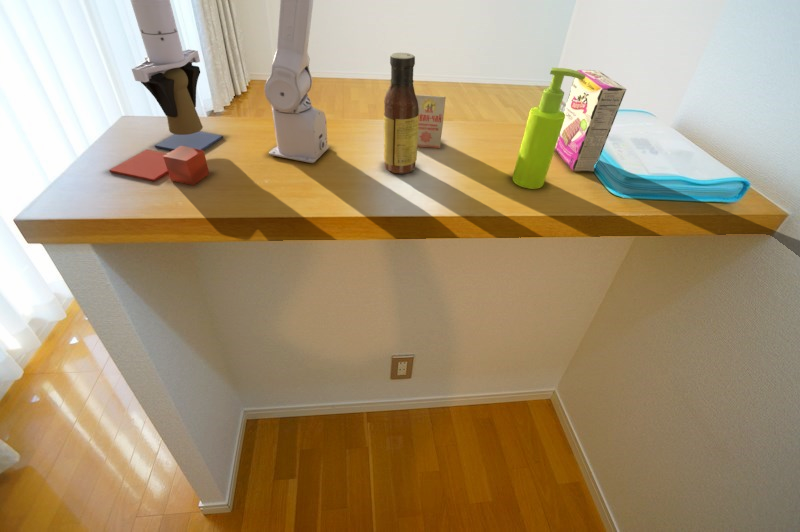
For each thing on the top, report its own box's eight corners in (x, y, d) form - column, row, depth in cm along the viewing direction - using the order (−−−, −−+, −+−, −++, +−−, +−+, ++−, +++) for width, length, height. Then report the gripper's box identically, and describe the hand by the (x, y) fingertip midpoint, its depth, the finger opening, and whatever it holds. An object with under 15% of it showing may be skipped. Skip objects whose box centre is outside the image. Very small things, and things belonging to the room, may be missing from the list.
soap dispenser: (547, 193, 76) (586, 77, 63) (510, 184, 77) (540, 70, 64) (550, 179, 80) (586, 68, 67) (514, 171, 82) (543, 62, 69)
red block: (209, 173, 74) (203, 149, 71) (193, 185, 70) (186, 161, 67) (187, 169, 74) (180, 145, 72) (170, 180, 71) (162, 156, 68)
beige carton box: (408, 138, 91) (412, 91, 84) (439, 140, 91) (445, 94, 84) (408, 145, 88) (411, 97, 81) (439, 148, 88) (445, 100, 81)
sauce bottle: (420, 165, 81) (431, 54, 68) (407, 178, 77) (416, 63, 64) (390, 157, 83) (395, 48, 70) (376, 169, 79) (378, 56, 66)
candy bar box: (550, 148, 91) (575, 69, 81) (572, 148, 92) (599, 69, 81) (571, 172, 83) (602, 87, 72) (595, 172, 83) (629, 88, 73)
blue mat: (223, 137, 85) (222, 135, 85) (195, 155, 79) (194, 153, 78) (185, 130, 87) (184, 128, 87) (154, 147, 80) (154, 145, 80)
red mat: (188, 159, 77) (188, 157, 77) (154, 181, 70) (153, 179, 70) (147, 151, 79) (146, 149, 78) (109, 172, 72) (109, 169, 72)
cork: (191, 136, 78) (174, 75, 71) (162, 132, 79) (142, 71, 72) (208, 124, 83) (194, 66, 76) (180, 121, 84) (164, 62, 77)
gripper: (167, 20, 76) (187, 96, 85) (104, 36, 65) (135, 121, 74) (201, 25, 75) (218, 101, 84) (143, 41, 64) (169, 127, 73)
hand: (181, 111), depth 79 cm, fingers closed on cork, 5 cm apart
